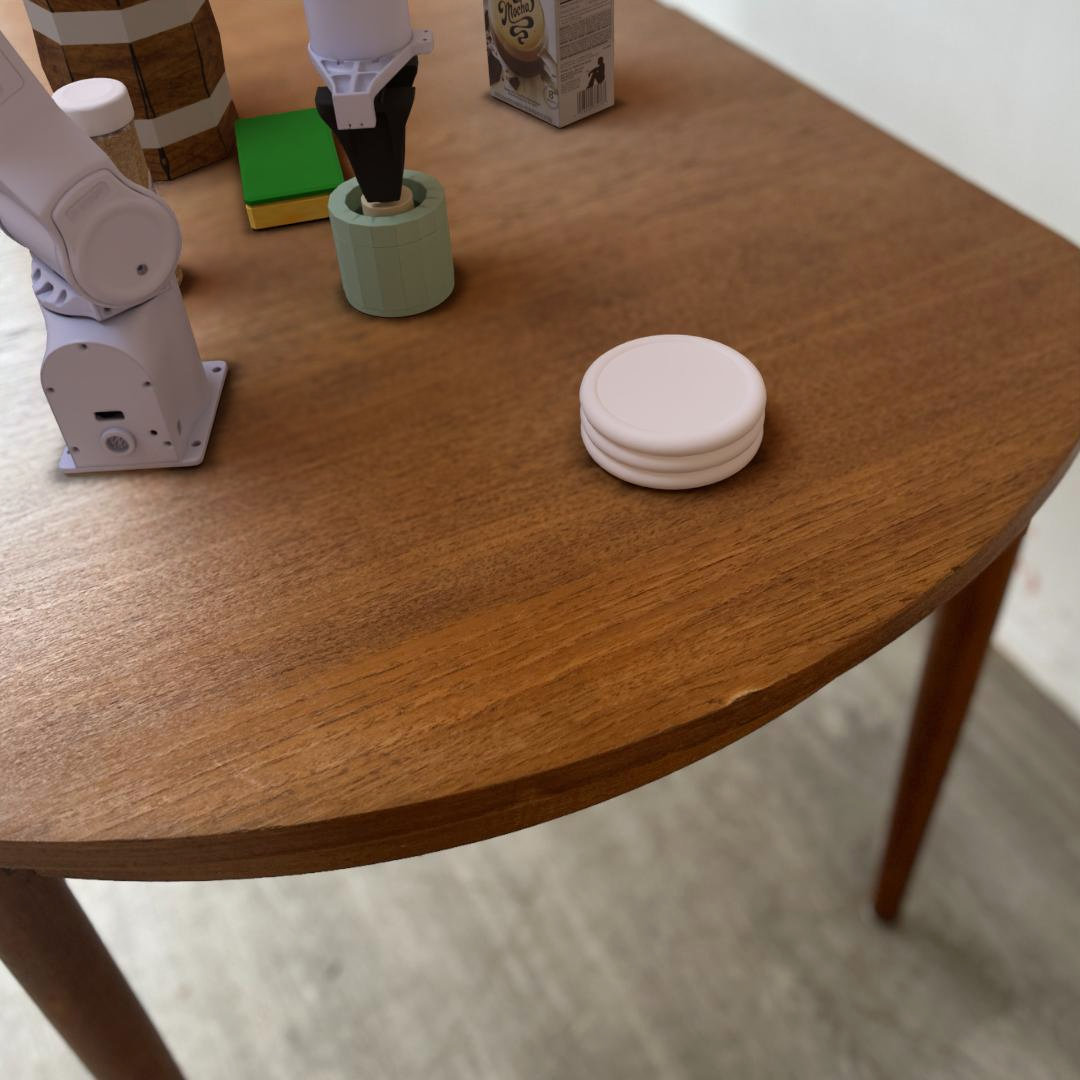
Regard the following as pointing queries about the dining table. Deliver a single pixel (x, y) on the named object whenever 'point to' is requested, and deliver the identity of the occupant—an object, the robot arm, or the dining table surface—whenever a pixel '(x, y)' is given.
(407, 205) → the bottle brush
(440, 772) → the dining table surface
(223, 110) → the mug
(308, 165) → the dish sponge
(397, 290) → the jar
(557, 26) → the coffee box
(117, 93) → the sprinkles bottle
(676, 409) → the white stacked discs
